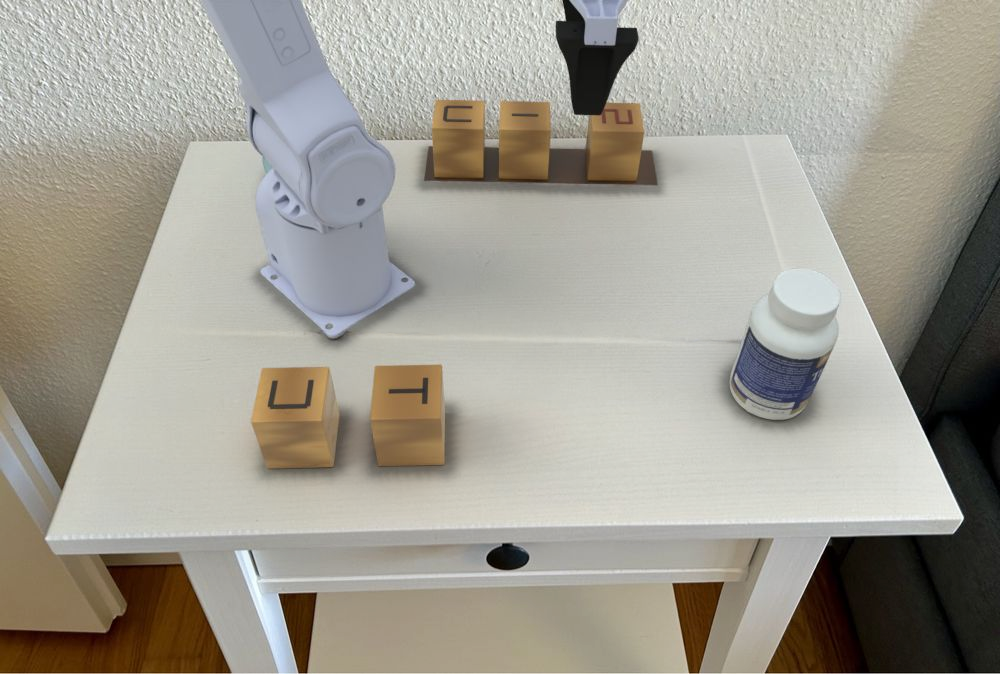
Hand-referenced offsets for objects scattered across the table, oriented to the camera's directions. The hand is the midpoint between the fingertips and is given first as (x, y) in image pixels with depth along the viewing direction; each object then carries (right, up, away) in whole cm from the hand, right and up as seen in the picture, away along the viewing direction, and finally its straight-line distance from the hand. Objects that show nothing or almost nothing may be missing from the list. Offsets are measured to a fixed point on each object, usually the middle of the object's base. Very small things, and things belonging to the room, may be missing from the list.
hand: (585, 85), depth 66 cm
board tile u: (-10, -4, +8) cm, 14 cm away
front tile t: (-12, -26, -11) cm, 31 cm away
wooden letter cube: (+3, -5, +8) cm, 10 cm away
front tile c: (-19, -26, -11) cm, 35 cm away
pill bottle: (+12, -24, -8) cm, 27 cm away
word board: (-3, -5, +8) cm, 10 cm away
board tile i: (-5, -5, +8) cm, 10 cm away
